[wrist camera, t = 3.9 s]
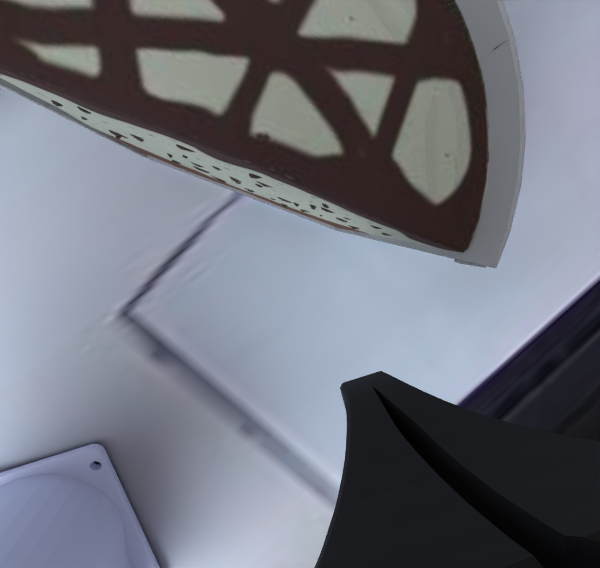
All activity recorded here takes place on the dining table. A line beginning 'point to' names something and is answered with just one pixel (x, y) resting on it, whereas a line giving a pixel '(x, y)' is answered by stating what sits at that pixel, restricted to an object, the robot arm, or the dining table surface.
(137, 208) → the dining table surface
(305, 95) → the food container
